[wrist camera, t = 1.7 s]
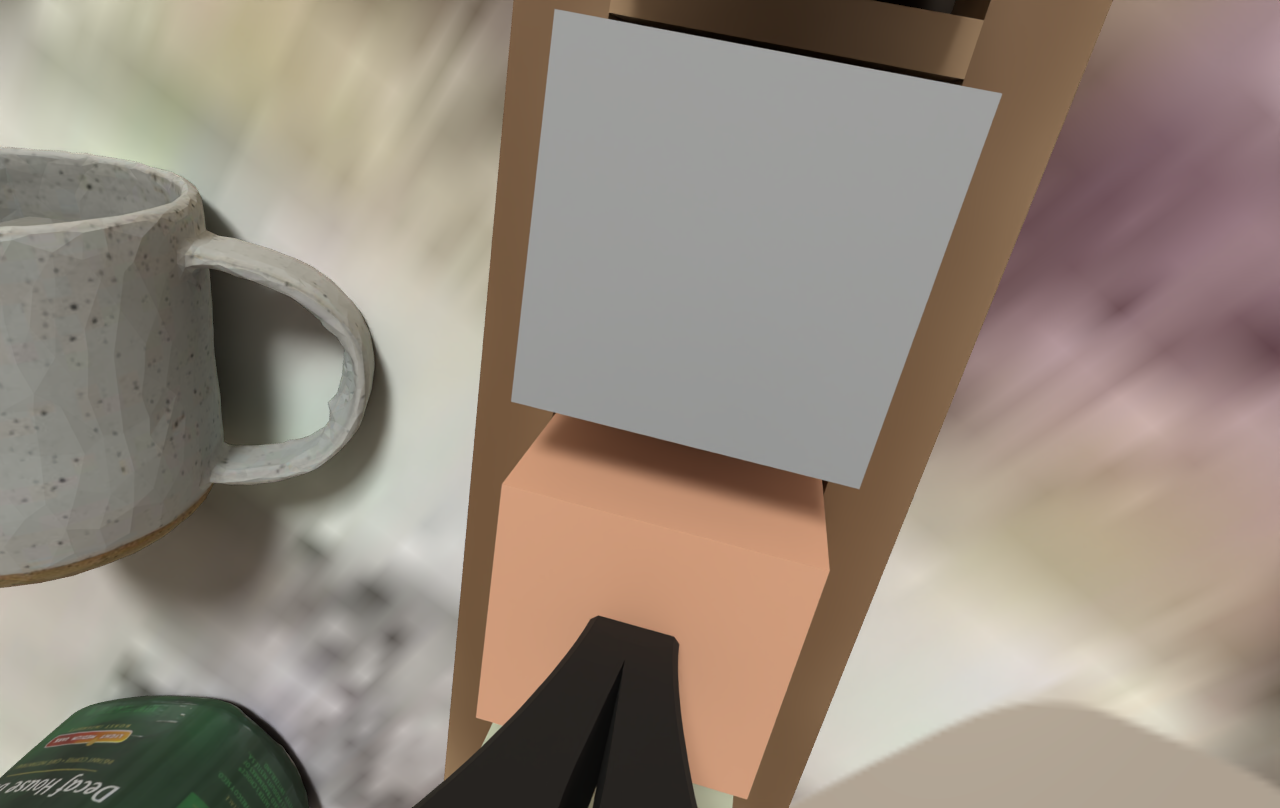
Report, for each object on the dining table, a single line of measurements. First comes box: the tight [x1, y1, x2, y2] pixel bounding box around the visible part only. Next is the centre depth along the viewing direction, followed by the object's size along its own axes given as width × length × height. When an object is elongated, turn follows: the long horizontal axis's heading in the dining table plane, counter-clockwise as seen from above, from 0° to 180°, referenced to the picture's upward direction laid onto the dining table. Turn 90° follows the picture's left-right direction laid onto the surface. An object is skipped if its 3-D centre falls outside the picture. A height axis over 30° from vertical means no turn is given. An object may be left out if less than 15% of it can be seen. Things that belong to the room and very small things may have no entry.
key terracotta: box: [476, 413, 830, 799], centre depth 13 cm, size 5×5×4 cm
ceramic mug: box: [0, 147, 375, 588], centre depth 15 cm, size 11×8×8 cm
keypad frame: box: [444, 0, 1113, 808], centre depth 15 cm, size 9×27×3 cm, turn 170°
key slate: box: [511, 9, 1002, 489], centre depth 11 cm, size 5×5×4 cm
